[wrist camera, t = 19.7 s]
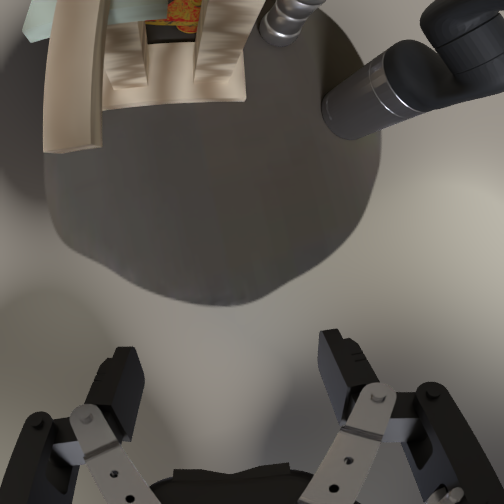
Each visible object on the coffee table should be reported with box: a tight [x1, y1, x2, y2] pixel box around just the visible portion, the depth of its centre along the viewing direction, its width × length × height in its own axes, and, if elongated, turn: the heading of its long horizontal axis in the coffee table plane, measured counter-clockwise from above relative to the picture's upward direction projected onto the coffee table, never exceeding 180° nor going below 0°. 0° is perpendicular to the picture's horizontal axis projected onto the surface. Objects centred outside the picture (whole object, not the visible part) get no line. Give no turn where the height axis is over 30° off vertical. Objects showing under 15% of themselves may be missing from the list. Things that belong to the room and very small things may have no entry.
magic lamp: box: [145, 0, 202, 33], centre depth 34 cm, size 7×18×11 cm, turn 118°
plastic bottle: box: [259, 0, 326, 47], centre depth 33 cm, size 6×7×20 cm
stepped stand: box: [22, 0, 266, 111], centre depth 25 cm, size 22×14×32 cm, turn 94°
